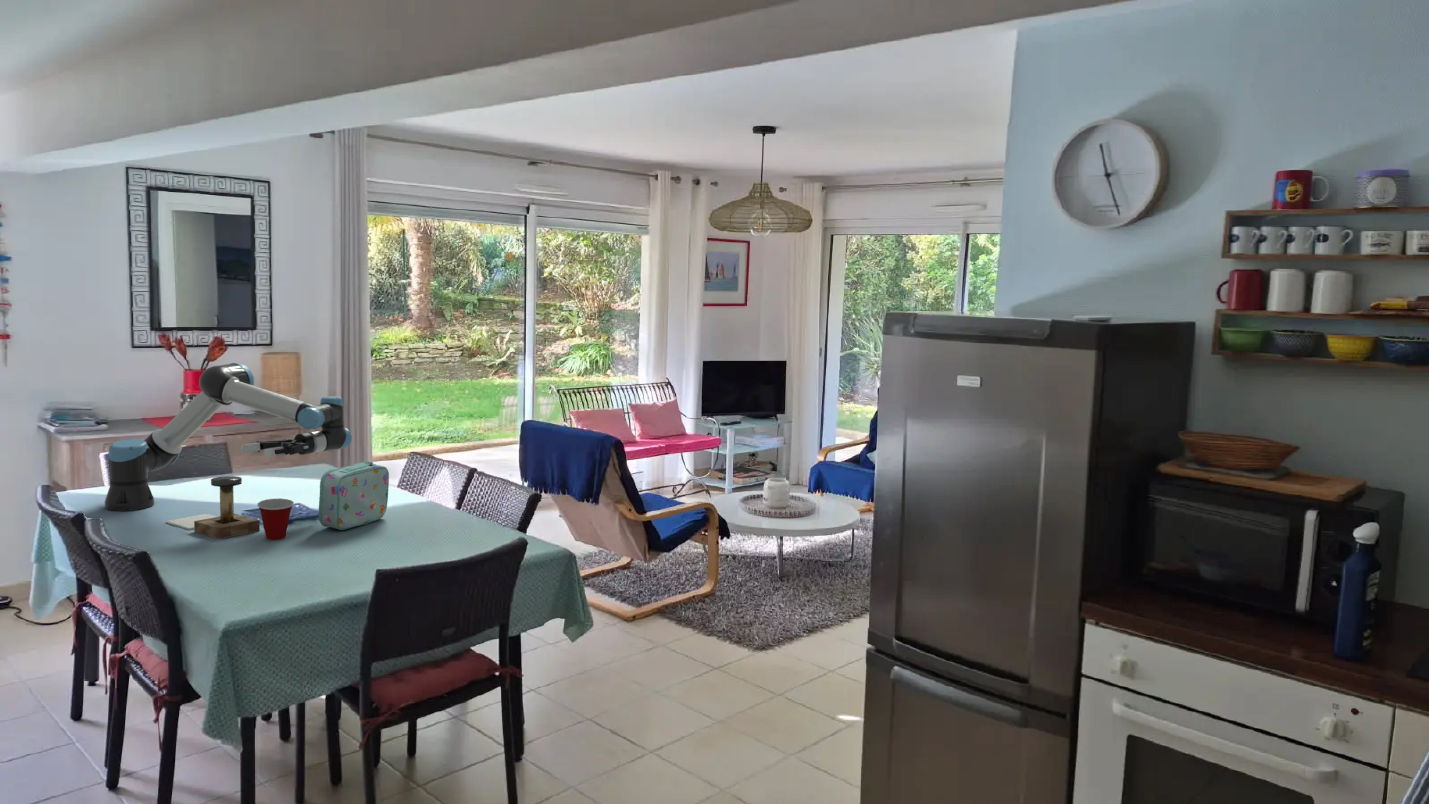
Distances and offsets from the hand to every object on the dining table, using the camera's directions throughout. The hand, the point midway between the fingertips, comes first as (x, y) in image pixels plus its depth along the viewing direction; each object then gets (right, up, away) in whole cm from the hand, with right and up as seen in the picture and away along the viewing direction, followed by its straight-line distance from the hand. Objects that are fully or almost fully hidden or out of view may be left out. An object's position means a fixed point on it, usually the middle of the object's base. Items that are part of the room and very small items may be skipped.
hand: (252, 451), depth 322 cm
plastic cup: (+13, -28, -11) cm, 33 cm away
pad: (-20, -24, +3) cm, 32 cm away
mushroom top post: (-6, -26, -5) cm, 27 cm away
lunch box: (+30, -26, +11) cm, 41 cm away
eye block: (-6, -26, -5) cm, 27 cm away
